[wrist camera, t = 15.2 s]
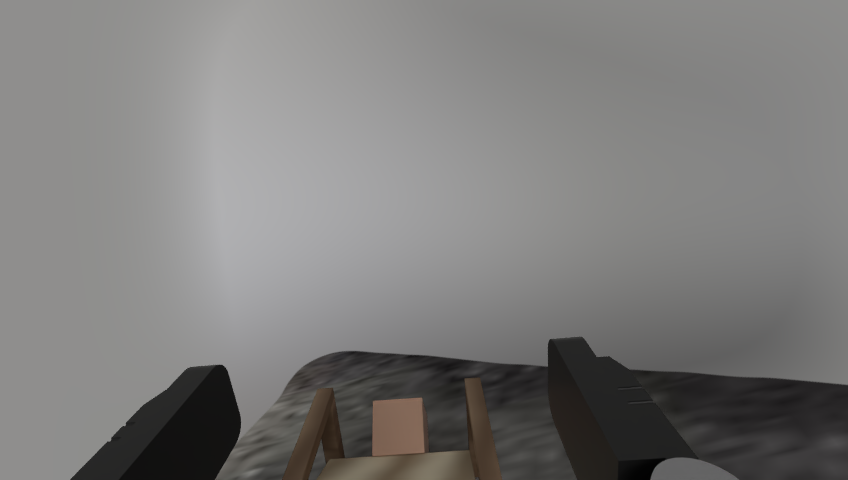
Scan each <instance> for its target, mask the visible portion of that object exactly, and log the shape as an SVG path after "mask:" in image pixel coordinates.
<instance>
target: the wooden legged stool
mask: <svg viewBox="0 0 848 480" xmlns="http://www.w3.org/2000/svg"><path fill="white" fill-rule="evenodd" d="M465 393H466V409H467V426H468V442H469V451H470V456H471V461H472V466H473V471H474V476H475V477H479V480H502V477H501V472H500V468H499V463H498V459H497V454H496V449H495V445H494V440H493V436H492V431H491V426H490V422H489V417H488V413H487V408H486V403H485V399H484V394H483V390H482V385H481V381H480V378H466V379H465ZM321 439H322V444H323V450H324V455H325V460H326V464H327V463H328V461H329V460H330V459H341V458H345V456H344V450H343V444H342V439H341V433H340V427H339V421H338V415H337V409H336V403H335V398H334V392H333V388H322V389H318V390H317V392H316V395H315V397H314V400H313V402H312V405H311V408H310V410H309V413H308V415H307V418H306V420H305V423H304V425H303V428H302V430H301V433H300V435H299V438H298V441H297V443H296V446H295V448H294V451H293V453H292V456H291V458H290V461H289V463H288V466H287V468H286V471H285V474H284V476H283V479H282V480H308V478H309V475H310V472H311V469H312V465H313V462H314V459H315V456H316V453H317V450H318V447H319V444H320V441H321Z"/></svg>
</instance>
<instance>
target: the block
mask: <svg viewBox="0 0 848 480" xmlns="http://www.w3.org/2000/svg"><path fill="white" fill-rule="evenodd" d="M418 453H429V440H428V421H427V413H426V410H425V406H424V403H423V400H422V398H408V399H394V400H379V401H373V437H372V456H387V455H402V454H418Z"/></svg>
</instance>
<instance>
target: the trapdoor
mask: <svg viewBox="0 0 848 480" xmlns="http://www.w3.org/2000/svg"><path fill="white" fill-rule="evenodd" d="M317 480H475V476H474V471H473V466H472V461H471V456H470V451H469V450H464V451H448V452H433V453H418V454H402V455H387V456H372V457H357V458H341V459H330V460H329V461H328V463H327V464H326V466H325V467H324V469H323V470H322V472H321V473H320V475H319V476H318V478H317Z"/></svg>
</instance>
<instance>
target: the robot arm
mask: <svg viewBox="0 0 848 480" xmlns="http://www.w3.org/2000/svg"><path fill="white" fill-rule="evenodd" d="M548 395H549V404H550V409H551V414H552V417H553V420H554V423H555V426H556V428H557V430H558V433H559V435H560V438H561V440H562V443H563V445H564V448H565V450H566V453H567V455H568V458H569V460H570V463H571V465H572V468H573V470H574V473H575V475H576V478H577V480H739V479H737V478H736V477H735V476H733V475H732V474H730V473H728V472H727V471H725V470H723V469H721V468H719V467H717V466H715V465H713V464H710V463H707V462H704V461H701V460H699V459H698V458H697V456H696V455H695V454H694V453H693V451H692V450H691V449H690V447H689V446H688V445H687V444H686V442H685V441H684V440H683V438H682V437H681V436H680V435H679V433H678V432H677V431H676V429H675V428H674V427H673V426H672V424H671V423H670V422H669V420H668V419H667V418H666V417H665V415H664V414H663V413H662V411H661V410H660V409H659V408H658V406H657V405H656V404H655V403H654V404H653V401H652V399H651V397H650V396H649V395H648V393H647V392H646V391H645V390H644V389H642V386H641V384H640V383H639V382H638V381H637V379H636V378H635V377H634V375H633V374H632V373H631V372H630V370H629V369H627V368H626V367H624V366H623V365H621V364H620V363H618V362H617V361H615V360H613V359H612V358H611V357H609V356H608V357H596V355H595V354H594V353H593V351H592V350H591V348H590V347H589V345H588V344H587V342H586V341H585V340H584V338H583V337H572V338H560V339H550V340H549V343H548ZM240 428H241V417H240V412H239V409H238V406H237V402H236V399H235V395H234V392H233V388H232V385H231V381H230V378H229V375H228V371H227V370H226V368H225V367H224V366H223V365H211V366H198V367H190V368H188V369H186V370H185V371H184V372H183V373H182V374H181V375H180V376H179V377H178V379H176V380H175V381H174V382H173V384H172V385H171V386H170V387H169V388H168V389H167V390H165V391H164V392H162V393H161V394H159V395H158V396H157V397H155V398H153V399H152V400H150V401H149V402H147V403H146V404H144V405H143V406H142V407H141V408H140V409H139V410H138V411H137V412H136V413H135V414H134V415H133V416H132V417H131V418H130V419H129V420H128V421H127V422H126V426H123V427H121V428H120V429H119V431H118V432H116V434H115V435H114V436H113V437H112V438H111V441H110V442H107V443H106V444H105V445H104V446H103V447H102V448H101V449H100V450H99V451H98V452H97V453H96V454H95V455H94V456H93V457H92V458H91V459H90V460H89V461H88V462H87V463H86V464H85V465H84V466H83V467H82V468H81V469H80V470H79V471H78V472H77V473H76V474H75V475H74V476H73V477H72V478H71V480H215V478H216V477H217V475H218V473H219V472H220V470H221V468H222V466H223V465H224V463H225V461H226V460H227V458H228V456H229V454H230V453H231V451H232V449H233V448H234V446H235V444H236V442H237V440H238V437H239V434H240Z"/></svg>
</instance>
